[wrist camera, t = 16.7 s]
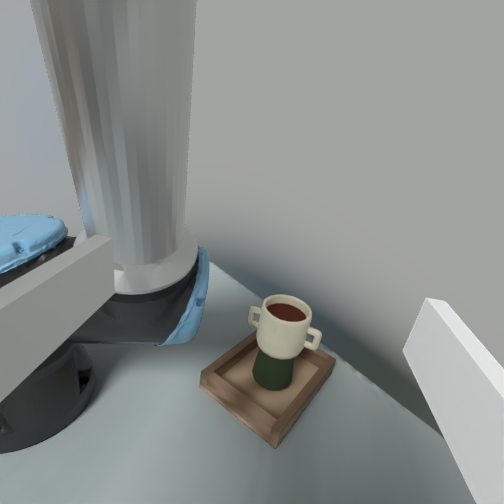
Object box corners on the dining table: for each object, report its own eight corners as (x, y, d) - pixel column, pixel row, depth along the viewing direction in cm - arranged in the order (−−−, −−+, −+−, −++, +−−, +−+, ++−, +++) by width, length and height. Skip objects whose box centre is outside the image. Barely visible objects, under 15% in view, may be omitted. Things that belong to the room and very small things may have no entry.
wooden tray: (199, 386, 45) (201, 371, 44) (266, 334, 58) (269, 321, 57) (275, 448, 38) (280, 432, 37) (331, 373, 52) (336, 359, 50)
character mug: (310, 377, 49) (331, 309, 44) (298, 410, 43) (320, 336, 38) (249, 350, 53) (261, 284, 47) (229, 377, 46) (241, 305, 41)
